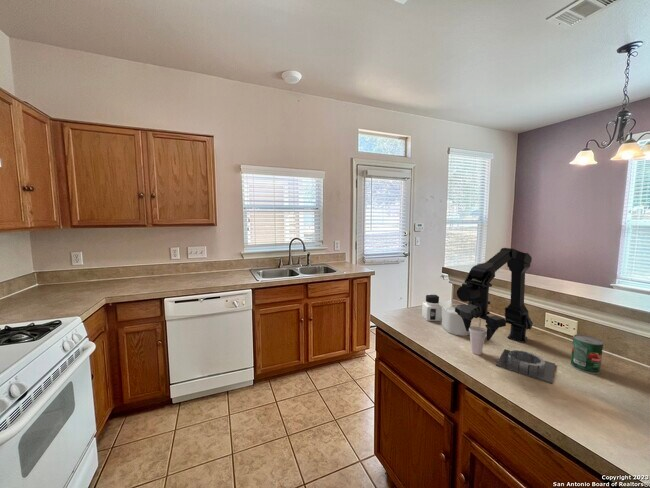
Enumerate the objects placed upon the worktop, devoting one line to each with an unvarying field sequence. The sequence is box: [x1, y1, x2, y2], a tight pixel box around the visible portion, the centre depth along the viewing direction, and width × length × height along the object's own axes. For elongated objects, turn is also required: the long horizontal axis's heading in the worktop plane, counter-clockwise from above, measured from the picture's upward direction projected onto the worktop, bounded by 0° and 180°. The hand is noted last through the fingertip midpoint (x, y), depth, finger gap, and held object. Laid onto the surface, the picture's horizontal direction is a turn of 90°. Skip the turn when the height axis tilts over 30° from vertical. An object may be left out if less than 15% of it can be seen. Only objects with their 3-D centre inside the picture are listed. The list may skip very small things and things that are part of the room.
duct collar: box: [495, 348, 556, 385], centre depth 100 cm, size 16×16×3 cm
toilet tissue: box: [441, 306, 470, 336], centre depth 130 cm, size 11×12×10 cm
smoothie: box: [469, 318, 487, 356], centre depth 109 cm, size 6×6×14 cm
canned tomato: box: [569, 334, 604, 375], centre depth 98 cm, size 8×8×11 cm
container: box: [421, 293, 443, 322], centre depth 146 cm, size 8×8×13 cm
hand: (477, 335), depth 109 cm, fingers open, 9 cm apart
